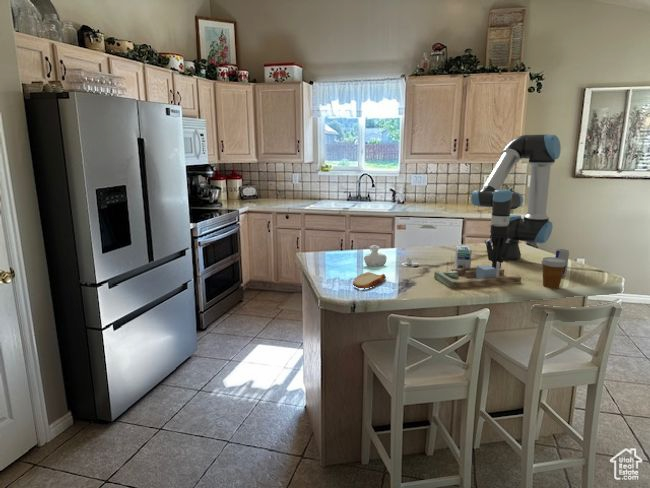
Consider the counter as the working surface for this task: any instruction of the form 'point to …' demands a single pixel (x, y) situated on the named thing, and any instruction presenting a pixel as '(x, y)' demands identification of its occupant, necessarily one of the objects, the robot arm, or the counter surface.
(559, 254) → the energy drink
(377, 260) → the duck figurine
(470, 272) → the trap lane
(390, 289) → the counter surface
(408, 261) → the teacup and saucer
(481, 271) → the cube
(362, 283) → the bread slice
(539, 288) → the counter surface
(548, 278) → the disposable coffee cup
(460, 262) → the light bulb box
